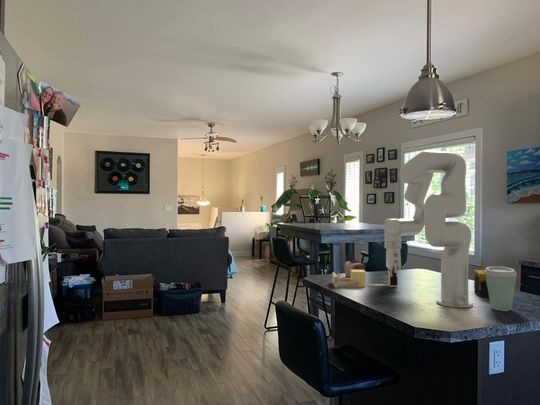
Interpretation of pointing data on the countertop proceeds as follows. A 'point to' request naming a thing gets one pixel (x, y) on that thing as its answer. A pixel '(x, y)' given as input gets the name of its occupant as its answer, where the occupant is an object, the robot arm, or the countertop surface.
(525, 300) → the countertop surface
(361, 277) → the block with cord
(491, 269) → the disposable coffee cup
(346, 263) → the food item
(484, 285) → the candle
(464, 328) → the countertop surface
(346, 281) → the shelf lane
